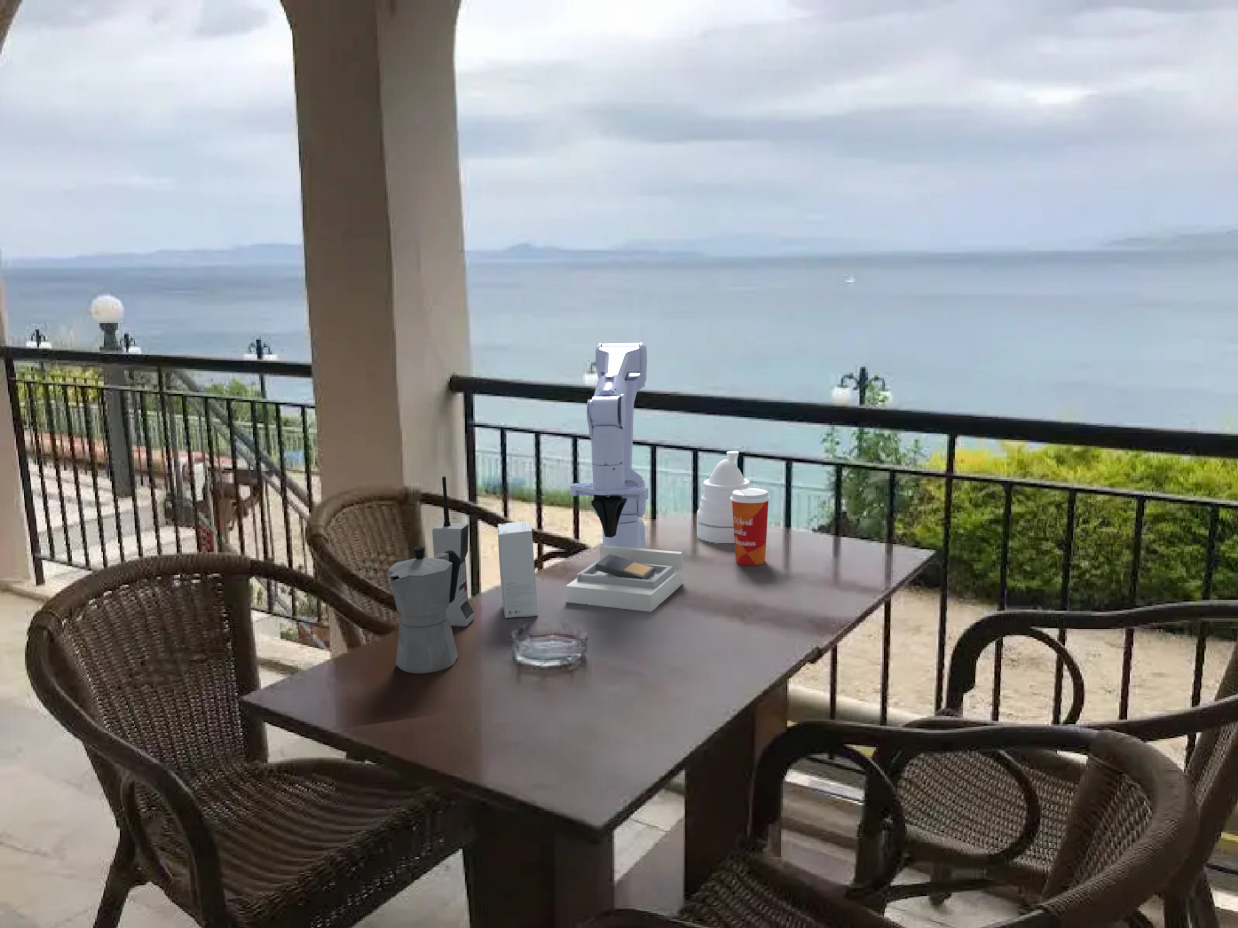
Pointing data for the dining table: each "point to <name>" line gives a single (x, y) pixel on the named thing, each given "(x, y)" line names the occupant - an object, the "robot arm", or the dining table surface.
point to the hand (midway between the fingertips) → (610, 536)
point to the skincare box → (517, 569)
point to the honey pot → (720, 501)
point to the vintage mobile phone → (457, 540)
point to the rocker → (624, 568)
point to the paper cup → (750, 525)
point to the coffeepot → (425, 610)
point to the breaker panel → (628, 581)
